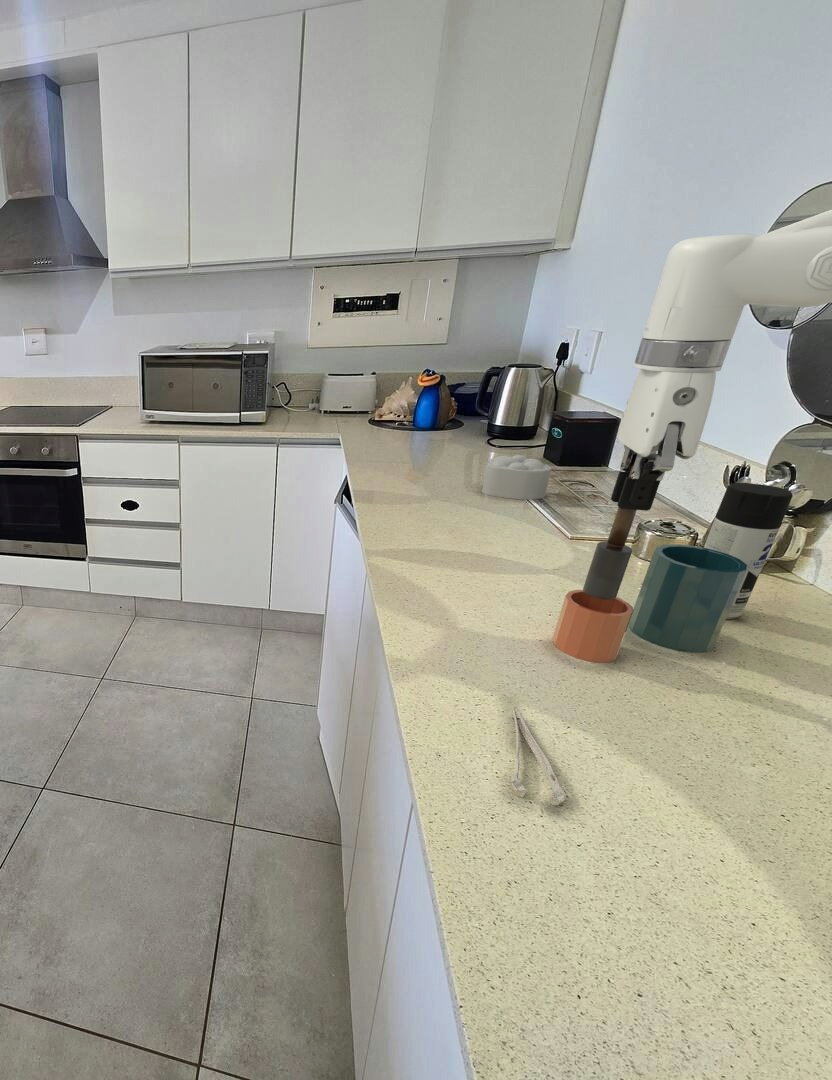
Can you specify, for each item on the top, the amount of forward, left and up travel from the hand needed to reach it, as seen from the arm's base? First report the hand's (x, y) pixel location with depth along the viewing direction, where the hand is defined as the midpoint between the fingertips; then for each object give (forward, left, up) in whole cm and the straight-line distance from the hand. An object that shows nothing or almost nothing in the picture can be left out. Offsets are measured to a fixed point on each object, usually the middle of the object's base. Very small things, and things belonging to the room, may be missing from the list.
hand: (629, 504), depth 74 cm
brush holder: (0, 0, -22) cm, 22 cm away
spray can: (-21, -20, -22) cm, 37 cm away
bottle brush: (0, 0, -13) cm, 13 cm away
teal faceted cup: (-12, -8, -22) cm, 27 cm away
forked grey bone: (+11, +24, -22) cm, 35 cm away
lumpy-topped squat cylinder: (-3, -75, -22) cm, 78 cm away
